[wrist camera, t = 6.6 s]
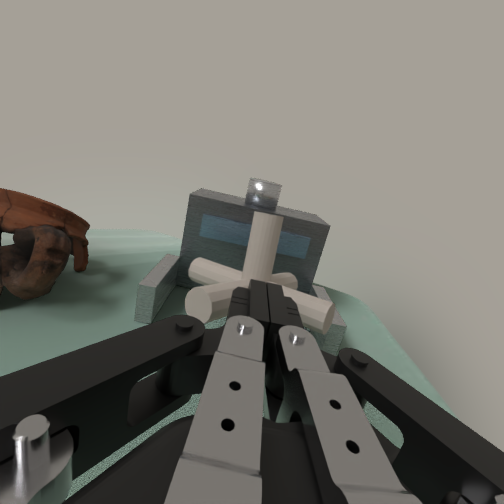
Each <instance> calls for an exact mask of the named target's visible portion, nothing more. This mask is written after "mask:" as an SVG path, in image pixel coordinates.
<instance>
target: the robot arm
mask: <svg viewBox="0 0 504 504" xmlns="http://www.w3.org/2000/svg"><path fill="white" fill-rule="evenodd" d="M155 371H157V372H156V373H154V374H152V375H150V376H149V377H147V378H145V379H143V380H141V381H139V380H140V379H142V378H143V377H145V376H147V375H149V374H151V373H153V372H155ZM264 378H265V380H264ZM138 381H139V382H138ZM200 393H202V394H201V397H200V400H199V403H198V407H197V410H196V413H195V415H191V416H187V417H183V418H180V419H178V420H175V421H173V422H171V423H169V424H168V425H166V426H164V427H163V428H161V429H160V430H158V431H157V432H156V433H154V434H153V435H152V436H150V437H149V438H148V439H146V440H145V441H144V442H142V443H141V444H140V445H138V446H137V447H136V448H134V449H133V450H132V451H130V452H129V453H128V454H126V455H125V456H124V457H122V458H121V459H120V460H118V461H117V462H116V463H115V464H113V465H112V466H111V467H109V468H108V469H107V470H105V471H104V472H103V473H101V474H100V475H99V476H97V477H96V478H95V479H93V480H92V481H91V482H89V483H88V484H87V485H85V486H84V487H83V488H81V489H80V490H79V491H77V492H76V493H75V494H73V495H72V496H71V497H69V498H68V499H67V500H65V499H66V497H67V495H68V493H69V491H70V488H71V485H72V481H73V480H74V479H76V478H77V477H79V476H80V475H82V474H83V473H84V472H86V471H87V470H89V469H90V468H92V467H93V466H95V465H96V464H98V463H99V462H101V461H102V460H104V459H105V458H107V457H108V456H109V455H111V454H112V453H114V452H115V451H117V450H118V449H120V448H121V447H123V446H124V445H126V444H127V443H129V442H130V441H132V440H133V439H134V438H136V437H137V436H139V435H140V434H142V433H143V432H145V431H146V430H148V429H149V428H151V427H152V426H154V425H155V424H157V423H158V422H159V421H161V420H162V419H164V418H165V417H167V416H168V415H170V414H171V413H173V412H174V411H176V410H177V409H179V408H180V407H182V406H183V405H184V404H186V403H187V402H188V401H189V400H190V398H191V396H192V394H200ZM367 401H368V402H369V403H371V404H372V405H373V406H374V407H375V408H377V409H378V410H379V411H380V412H381V413H382V414H384V415H385V416H386V417H387V418H388V419H390V420H391V421H392V422H393V423H394V424H395V425H397V426H398V428H399V429H400V430H401V432H402V434H403V438H404V443H403V445H402V447H401V449H399V448H397V447H396V446H395V445H394V444H392V443H391V442H390V441H389V440H388V439H387V438H386V437H385V436H384V435H382V434H381V433H380V432H379V431H378V430H377V429H376V428H375V427H374V426H373V425H371V424H370V423H369V421H368V419H367V417H366V415H365V413H364V411H363V408H364V406H365V404H366V402H367ZM263 410H264V417H262V416H263ZM0 504H504V452H502V451H501V450H500V449H498V448H497V447H495V446H494V445H493V444H491V443H490V442H488V441H487V440H486V439H484V438H483V437H481V436H480V435H479V434H477V433H476V432H474V431H473V430H472V429H470V428H469V427H468V426H466V425H465V424H463V423H462V422H461V421H459V420H458V419H456V418H455V417H454V416H452V415H451V414H449V413H448V412H447V411H445V410H444V409H442V408H441V407H440V406H438V405H437V404H435V403H434V402H433V401H431V400H430V399H428V398H427V397H426V396H424V395H423V394H421V393H420V392H419V391H417V390H416V389H414V388H413V387H412V386H410V385H409V384H407V383H406V382H405V381H403V380H402V379H400V378H399V377H398V376H396V375H395V374H393V373H392V372H391V371H389V370H388V369H386V368H385V367H384V366H382V365H381V364H379V363H378V362H377V361H375V360H374V359H372V358H371V357H370V356H368V355H367V354H365V353H363V352H361V351H359V350H356V349H352V348H344V349H341V350H340V351H339V354H338V356H334V355H332V354H330V353H327V352H325V351H322V350H321V349H319V346H318V344H317V342H316V340H315V338H314V337H313V335H312V334H311V333H309V332H308V331H306V330H305V329H304V327H303V324H302V320H301V317H300V313H299V311H298V307H297V303H296V302H295V301H294V300H293V299H292V298H291V297H287V296H284V293H283V289H282V285H278V284H274V283H269V282H264V281H259V280H254V279H250V282H249V286H248V288H243V287H239V286H238V287H237V288H235V289H234V290H233V292H232V296H231V301H230V305H229V310H228V314H227V319H226V324H225V325H224V326H222V327H220V328H216V329H205V326H204V324H203V322H202V321H200V320H199V319H197V318H195V317H193V316H189V315H175V316H171V317H168V318H166V319H163V320H160V321H157V322H154V323H152V324H149V325H146V326H143V327H140V328H137V329H135V330H132V331H129V332H126V333H123V334H120V335H118V336H115V337H112V338H109V339H106V340H103V341H101V342H98V343H95V344H92V345H89V346H86V347H84V348H81V349H78V350H75V351H72V352H69V353H67V354H64V355H61V356H58V357H55V358H53V359H50V360H47V361H44V362H41V363H38V364H36V365H33V366H30V367H27V368H24V369H21V370H19V371H16V372H13V373H10V374H7V375H4V376H2V377H0Z"/></svg>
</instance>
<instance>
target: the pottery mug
mask: <svg viewBox="0 0 504 504" xmlns="http://www.w3.org/2000/svg"><path fill="white" fill-rule="evenodd" d="M89 227H90V225H89V224H88V223H87V222H86V221H85V220H84V219H82V218H81V217H79V216H77V215H76V214H74V213H73V212H71V211H69V210H67V209H64V208H62V207H60V206H58V205H56V204H53V203H51V202H48V201H45V200H42V199H39V198H36V197H33V196H30V195H27V194H24V193H20V192H16V191H11V190H7V189H2V188H0V295H1V293H2V291H3V287H4V286H5V287H6V288H7V289H8V290H9V291H10V292H11V293H12V294H13V295H15V296H17V297H19V298H21V299H24V300H28V299H33V298H37V297H40V296H43V295H45V294H48V293H49V292H50V290H51V288H52V286H53V285H54V283H55V280H56V279H57V278H58V276H59V275H60V274H61V272H62V271H63V269H64V267H65V266H66V263H67V261H68V258H69V256H70V254H71V255H73V256H74V270H75V271H76V272H79V271H84V270H85V269H86V265H87V264H88V256H89V255H88V248H87V245H88V240H87V239H86V237H85V235H86V232H87V230H88V229H89ZM2 232H6V233H11V234H14V235H13V241H14V243H15V244H12V245H7V246H1V233H2Z"/></svg>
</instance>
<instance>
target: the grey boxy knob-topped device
mask: <svg viewBox="0 0 504 504" xmlns="http://www.w3.org/2000/svg"><path fill="white" fill-rule="evenodd" d="M281 187H282V185H280V184H277V183H273V182H269V181H265V180H261V179H256V178H250V180H249V185H248V190H247V194H246V198H241V197H237V196H233V195H228V194H223V193H219V192H215V191H211V190H206V189H202V188H201V189H199V190H197V191H195V192H192V193H191V194H190V196H189V202H188V209H187V215H186V221H185V227H184V234H183V240H182V246H181V252H180V257H179V256H175V255H170V254H167V255H166V256H165V257H164V258H163V259H162V260H161V261H160V262H159V263H158V264H157V265H156V266H155V267H154V268H153V269H152V270H151V271H150V273H149V274H148V275H147V276H146V277H145V278H144V279H143V280H142V281H141V282H140V283H139V284H138V293H137V301H136V310H135V318H134V321H138V322H143V323H148V324H151V322H152V321H153V319H154V318H155V316H156V315H157V313H158V311H159V310H160V308H161V307H162V305H163V304H164V302H165V300H166V299H167V297H168V296H169V294H170V293H171V291H172V289H173V288H174V286H175V285H177V286H182V287H187V288H192V289H193V288H194V287H200V286H204V285H202V284H200V283H197V282H195V281H192V280H191V279H190V277H189V268H190V265H191V263H192V262H193V261H194V260H195V259H196V258H199V257H201V258H204V259H207V260H210V261H212V262H215V263H218V264H221V265H224V266H227V267H230V268H233V269H236V270H239V271H241V272H243V267H244V262H245V257H246V252H247V247H248V242H249V237H250V232H251V227H252V222H253V216H254V211H256V212H261V213H266V214H271V215H276V216H281V217H284V218H283V223H282V227H281V232H280V237H279V242H278V246H277V251H276V256H275V260H274V265H273V270H272V274H278V273H284V272H286V273H291V274H293V275H294V276H295V277H296V279H297V281H298V288H297V289H296V290H297V291H300V292H303V293H305V294H308V295H311V296H314V297H317V298H320V299H323V300H326V301H329V302H332V301H331V299H330V297H329V296H328V294H327V292H326V290H325V289H324V287H320V286H316V285H312V282H313V279H314V276H315V273H316V270H317V266H318V263H319V260H320V257H321V254H322V251H323V248H324V244H325V241H326V238H327V235H328V232H329V229H330V225H328V224H327V223H326V222H325V221H323V220H322V219H321V218H319V217H318V216H317V215H315V214H311V213H306V212H302V211H298V210H293V209H289V208H284V207H280V206H277V202H278V199H279V195H280V191H281ZM272 274H271V275H272ZM332 303H333V302H332ZM346 327H347V326H346V324H345V323H344V321H343V319H342V318H341V316H340V314H339V313H338V311H337V309H336V307H335V313H334V317H333V320H332V324H331V326H330V328H329V330H328V331H327V333H326V334H321V333H318V332H316V331H314V330H311V329H310V332H311V334H312V335H313V337H314V338H315V340H316V342H317V344H318V346H319V349H321V350H322V351H325V352H327V353H330V354H332V355H334V356H336V354H337V351H338V349H339V346H340V343H341V341H342V338H343V335H344V333H345V330H346Z"/></svg>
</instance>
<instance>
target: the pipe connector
mask: <svg viewBox="0 0 504 504" xmlns="http://www.w3.org/2000/svg"><path fill="white" fill-rule="evenodd" d="M283 218H284V217H281V216H276V215H271V214H266V213H261V212H256V211H254V216H253V222H252V227H251V232H250V237H249V242H248V247H247V252H246V257H245V262H244V267H243V272H241V271H239V270H236V269H233V268H230V267H227V266H224V265H221V264H218V263H215V262H212V261H210V260H207V259H204V258H201V257H199V258H196V259H195V260H194V261H193V262H192V263H191V265H190V268H189V277H190V279H191V280H192V281H195V282H197V283H200V284H202V285H204V286H200V287H194V288H193V289H191V290H190V291H189V292H188V293H187V296H186V298H185V310H186V312H187V315H189V316H193V317H195V318H197V319H199V320H200V321H202V322H203V324H205V323H208V322H211V321H214V320H217V319H220V318H223V317H226V316H227V314H228V310H229V305H230V301H231V296H232V292H233V290H234V289H235V288H237V287H238V286H239V287H243V288H248V286H249V282H250V279H254V280H259V281H264V282H269V283H274V284H278V285H282V289H283V293H284V296H287V297H291V298H292V299H293V300H294V301H295V302H296V303H297V307H298V311H299V313H300V317H301V320H302V324H303V326H304V327H306V328H309V329H311V330H314V331H316V332H318V333H321V334H326V333H327V331H328V330H329V328H330V326H331V324H332V320H333V317H334V313H335V304H334V303H332V302H329V301H326V300H323V299H320V298H317V297H314V296H311V295H308V294H305V293H303V292H300V291H297V290H296V289H297V288H298V281H297V279H296V277H295V276H294V275H293V274H291V273H286V272H284V273H278V274H272V270H273V265H274V260H275V256H276V251H277V246H278V242H279V237H280V232H281V227H282V223H283ZM271 274H272V275H271Z"/></svg>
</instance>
